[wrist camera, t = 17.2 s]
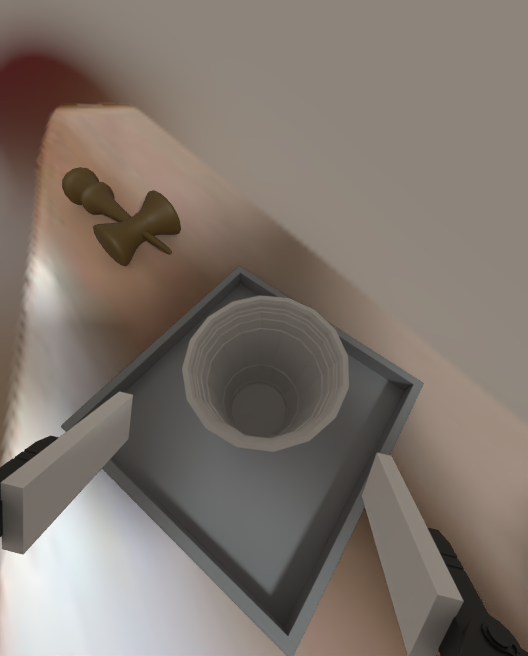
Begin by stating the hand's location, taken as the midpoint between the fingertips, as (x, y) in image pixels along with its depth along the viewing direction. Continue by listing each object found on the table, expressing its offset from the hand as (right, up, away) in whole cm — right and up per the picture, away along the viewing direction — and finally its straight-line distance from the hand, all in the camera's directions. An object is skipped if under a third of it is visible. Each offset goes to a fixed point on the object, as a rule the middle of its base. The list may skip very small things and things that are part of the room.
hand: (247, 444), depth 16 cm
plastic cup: (0, -2, +14) cm, 14 cm away
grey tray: (0, -2, +15) cm, 15 cm away
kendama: (-18, +20, +27) cm, 38 cm away
